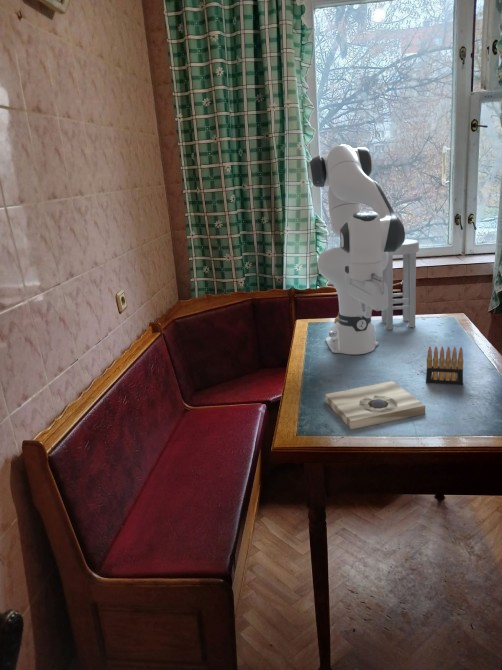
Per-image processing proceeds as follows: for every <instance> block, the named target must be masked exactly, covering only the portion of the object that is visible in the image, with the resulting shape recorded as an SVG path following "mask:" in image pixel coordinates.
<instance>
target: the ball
mask: <svg viewBox="0 0 502 670" xmlns="http://www.w3.org/2000/svg"><path fill="white" fill-rule="evenodd" d="M371 407H373V408H385V407H386V404H385V402H384V401H383V400H381V399H376V400H374V401H373V402H372V405H371Z"/></svg>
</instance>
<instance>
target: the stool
mask: <svg viewBox="0 0 502 670" xmlns="http://www.w3.org/2000/svg"><path fill="white" fill-rule="evenodd" d="M419 251H420V242H419V241H418V240H416V239H410V238H405V240H404V243H403V244H402V245H401V246H400V247H399V248H398V249H397V250H396V251H395V252H388V256H389V260H388V264H387V266H386V268H385V269H384V270H382V280H383V282H385V284H386V286H387V290H388V308H387V309H386V310H381V323H382V324H385V325H386V327H385V328H386V330H393V329H394V320H393V319H394V310H397V311H398V310H402V321H404V322H408V324H407V325H408V327H409V328H410V327H413V328H416V307H417V305H416V298H417V297H416V292H417V291H416V290H417V288H416V287H417V286H416V284H417V253H418V252H419ZM394 256H402V292H397V293H395V292H394V293H393V291H394V289H393V288H394V287H393V286H394V285H393V284H394V277H393V275H394V274H393V273H394V269H393V266H394V262H393V260H394V259H393V258H394ZM395 297H402V298H395ZM395 304H402V305H395ZM394 305H395V306H394Z"/></svg>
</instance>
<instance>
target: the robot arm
mask: <svg viewBox="0 0 502 670" xmlns="http://www.w3.org/2000/svg"><path fill="white" fill-rule="evenodd" d="M373 161H374V159H373V156H372V153H370V150H369V149H368V148H367V147H364V146H363V147H362V146H361V147H356V148H353V147H351V146H350V145H349V144H339V145H336V146H334V147H333V148H332V149H330V150H329V152H328V153H327V154H323V155H318V156H315V157H313V158H312V159H311V160H310V161H309V165H308V169H307V172H308V173H307V174H308V177H309V180H310V181H311V184H312V185H313V186H314V187H317V188H325V187H328V192H327V193H328V195H327V196H328V197H327V199H328V201H327V202H328V211H329V218H330V222H331V230H332V232H333V233H334V235H335V236H337V237H338V238H340V240H339V242H340V244H339V245H340V246H339V247H333V248H330V249H326V250H323V251H322V252H321V253H320V254H319V256H318V258H317V270H318V272H319V274H320V275H322V277H323V278H325V279H326V280H328V281H329V282H330V283H331V284H332V285H333V287H334V289H335V290H336V293H337V299H338V310H339V311H338V312H337V313H338V314H337V316H338V320H337V321H338V322H337V323H336V324H335V323H334V325H332V326H331V329H330V330H329V331H328V337H326V338H325V342H326V344H327V346H328V347H329V349H330V351H331V353H335V354H343V355H344V354H345V355H364V354H368V353H371V352H373V351H374V350H375V348H376V347H378V346H379V341H377V340H376V333H375V325H374V324H373V323H372V315H373V314H372V312H373V311H376V312H380V311H381V312H382V310H386V309H387V308H388V290H387V286H386V284H385V282H383V280H382V270H384V269H385V268H386V266H387V264H388V260H389V256H388V252H395V251H396V250H397V249H398V248H399V247H400V246H401V245H402V244H403V243H404V240H405V239H406V232H405V231H406V230H405V227H404V224H403V222H402V220H401V219H400V218H399V217H398V216H397V214H396V213H395V210H394V209H393V208H392V206H391V203H390V201H389V199H388V197H387V196H386V194H385V193H384V191H383V189H382V187H381V185H380V184H379V183H378V182H377V181H375V180H374V179H372V178H371V177H369V176H370V175H371V174H372V172H373V171H372V169H373V166H374V163H373ZM361 205H366V206H368V207H369V208H371V209H372V211H371V210H361Z"/></svg>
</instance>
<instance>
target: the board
mask: <svg viewBox="0 0 502 670" xmlns="http://www.w3.org/2000/svg"><path fill="white" fill-rule="evenodd" d="M324 395H325V403H326V404H327V405H328V406H330V408H331V409H332V410H333V411H334V413H336V414H337V415H338V417H339V418H340V419H341V420H342V421H343V422H344V423H345V424H346V425H347V427H348V428H349V429H350V430H354V429H361V428H364V427H368V426H374V425H377V424H382V423H388V422H392V421H396V420H401V419H406V418H410V417H415V416H420V415H424V414H426V405H425V404H424V403H423V402H422V401H420V400H419V399H418V398H416V397H414V396H413V394H411V393H410V392H408V391H407V390H405V389H404V388H403V387H401V386H400V385H399V384H397V383H396V382H394V380H389V381H384V382H380V383H375V384H370V385H365V386H358V387H354V388H351V389H346V390H340V391H335V392H330V393H325V394H324ZM376 399H381V400H383V401H384V402H385V404H386V407H385V408H373V407H371V405H372V402H373V401H374V400H376Z"/></svg>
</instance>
